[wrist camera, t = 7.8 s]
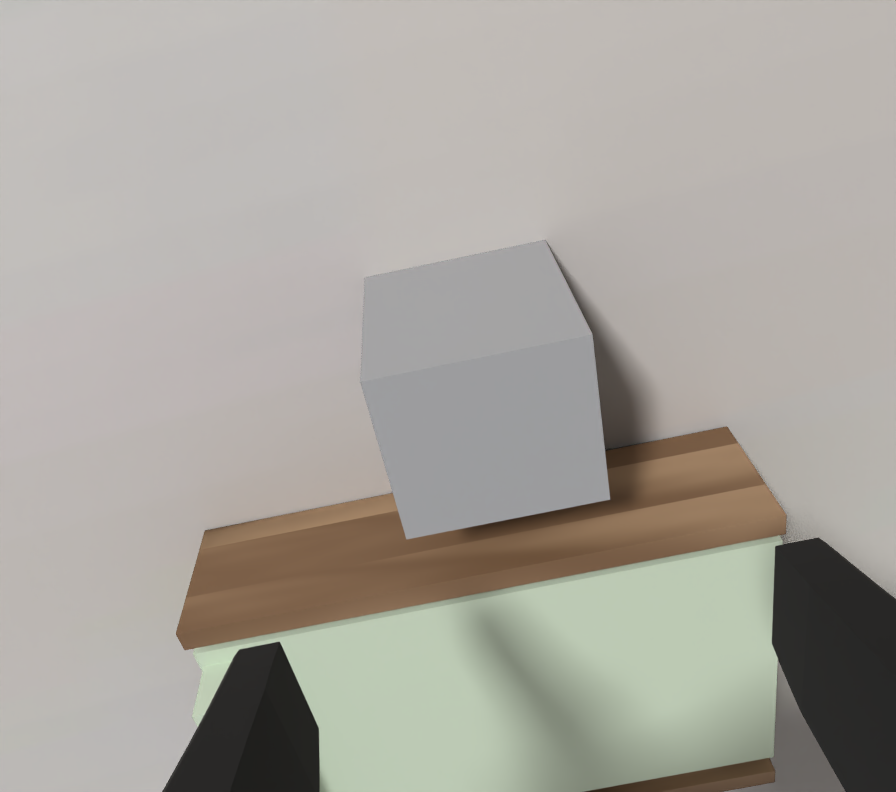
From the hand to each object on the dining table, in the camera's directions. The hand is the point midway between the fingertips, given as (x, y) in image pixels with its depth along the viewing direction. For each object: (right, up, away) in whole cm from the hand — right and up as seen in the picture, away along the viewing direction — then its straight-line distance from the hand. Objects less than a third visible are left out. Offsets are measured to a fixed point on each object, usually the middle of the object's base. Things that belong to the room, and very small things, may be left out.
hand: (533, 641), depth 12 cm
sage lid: (0, -5, +11) cm, 12 cm away
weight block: (-1, +5, +9) cm, 10 cm away
